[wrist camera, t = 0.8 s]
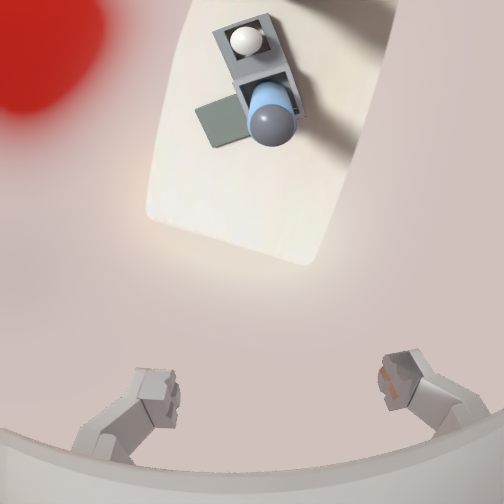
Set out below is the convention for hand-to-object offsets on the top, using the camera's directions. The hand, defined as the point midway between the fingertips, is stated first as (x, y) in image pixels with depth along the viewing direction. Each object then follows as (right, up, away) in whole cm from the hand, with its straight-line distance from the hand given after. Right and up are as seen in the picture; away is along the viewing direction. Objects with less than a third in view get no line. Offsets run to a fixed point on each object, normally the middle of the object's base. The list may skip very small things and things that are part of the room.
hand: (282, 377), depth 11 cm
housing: (0, +31, +27) cm, 42 cm away
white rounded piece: (-2, +33, +23) cm, 40 cm away
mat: (-5, +25, +33) cm, 42 cm away
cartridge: (+1, +27, +29) cm, 39 cm away
